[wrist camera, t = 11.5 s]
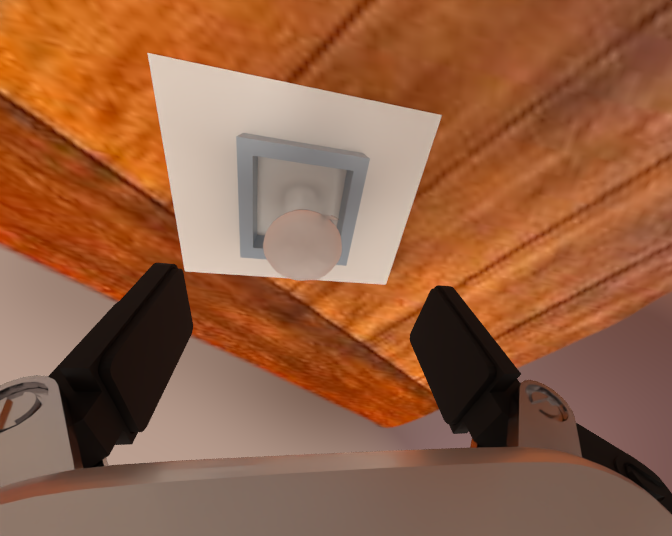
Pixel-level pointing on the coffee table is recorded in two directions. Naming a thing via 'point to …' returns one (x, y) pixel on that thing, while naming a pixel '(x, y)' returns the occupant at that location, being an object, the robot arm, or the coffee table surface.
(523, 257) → the coffee table surface
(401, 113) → the dock
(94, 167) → the coffee table surface
